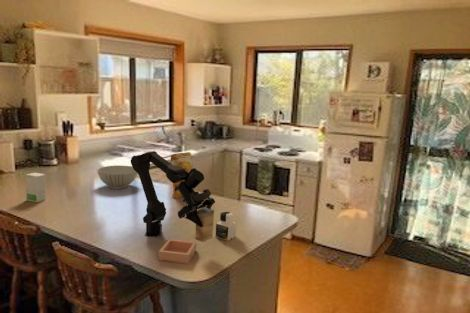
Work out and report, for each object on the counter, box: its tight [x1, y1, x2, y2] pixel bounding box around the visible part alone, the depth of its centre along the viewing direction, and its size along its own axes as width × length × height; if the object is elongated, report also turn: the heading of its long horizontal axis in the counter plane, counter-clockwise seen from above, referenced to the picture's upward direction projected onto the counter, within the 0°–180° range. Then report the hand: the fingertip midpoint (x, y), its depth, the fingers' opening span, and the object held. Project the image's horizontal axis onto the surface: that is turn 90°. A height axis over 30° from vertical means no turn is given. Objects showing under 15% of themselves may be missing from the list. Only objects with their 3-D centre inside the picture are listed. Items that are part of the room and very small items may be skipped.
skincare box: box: [25, 172, 46, 203], centre depth 209 cm, size 8×7×16 cm
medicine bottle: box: [215, 211, 237, 241], centre depth 173 cm, size 7×7×12 cm
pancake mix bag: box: [170, 151, 194, 199], centre depth 234 cm, size 7×19×28 cm, turn 136°
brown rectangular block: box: [194, 208, 215, 243], centre depth 152 cm, size 5×6×12 cm
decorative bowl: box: [96, 164, 139, 190], centre depth 246 cm, size 27×27×12 cm
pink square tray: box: [158, 238, 197, 265], centre depth 151 cm, size 12×12×4 cm
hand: (207, 224), depth 152 cm, fingers closed on brown rectangular block, 6 cm apart
